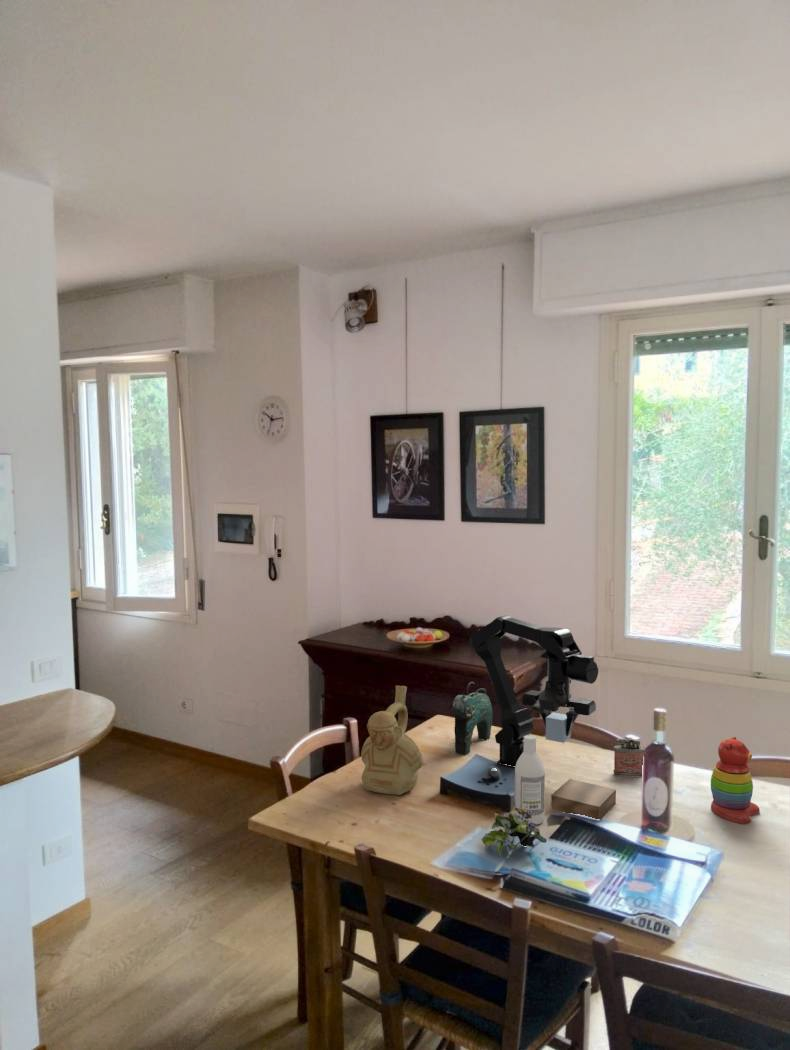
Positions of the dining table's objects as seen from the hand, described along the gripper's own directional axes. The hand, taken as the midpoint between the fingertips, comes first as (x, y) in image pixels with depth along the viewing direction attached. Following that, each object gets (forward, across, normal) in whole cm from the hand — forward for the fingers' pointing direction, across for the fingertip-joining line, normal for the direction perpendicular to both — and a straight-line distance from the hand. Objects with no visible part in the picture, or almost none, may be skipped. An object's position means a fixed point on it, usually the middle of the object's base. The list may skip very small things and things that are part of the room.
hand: (558, 733), depth 207 cm
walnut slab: (+13, +12, -13) cm, 22 cm away
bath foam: (+12, +4, -27) cm, 30 cm away
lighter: (+12, +15, +13) cm, 23 cm away
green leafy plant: (+12, +8, -44) cm, 47 cm away
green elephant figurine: (+12, -31, +9) cm, 34 cm away
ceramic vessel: (+12, -34, -29) cm, 46 cm away
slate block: (+1, 0, 0) cm, 1 cm away
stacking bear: (+12, +43, +4) cm, 45 cm away
